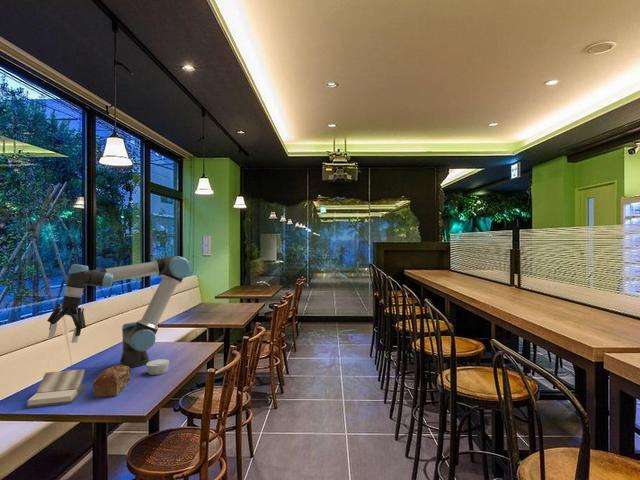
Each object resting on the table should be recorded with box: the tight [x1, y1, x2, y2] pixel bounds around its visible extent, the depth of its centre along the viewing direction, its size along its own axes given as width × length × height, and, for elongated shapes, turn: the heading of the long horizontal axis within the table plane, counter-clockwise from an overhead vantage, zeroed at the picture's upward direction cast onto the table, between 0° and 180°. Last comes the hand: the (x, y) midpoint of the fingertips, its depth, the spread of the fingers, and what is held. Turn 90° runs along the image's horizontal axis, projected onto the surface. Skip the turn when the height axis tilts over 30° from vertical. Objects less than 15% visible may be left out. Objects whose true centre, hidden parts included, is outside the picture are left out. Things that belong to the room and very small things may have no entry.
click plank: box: [35, 369, 86, 394], centre depth 181 cm, size 16×11×2 cm
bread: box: [92, 364, 131, 398], centre depth 184 cm, size 19×11×10 cm, turn 8°
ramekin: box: [145, 358, 170, 376], centre depth 208 cm, size 11×11×5 cm
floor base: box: [25, 383, 88, 409], centre depth 177 cm, size 17×20×3 cm
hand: (62, 340), depth 191 cm, fingers open, 13 cm apart
